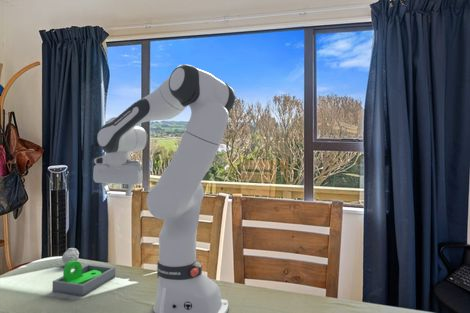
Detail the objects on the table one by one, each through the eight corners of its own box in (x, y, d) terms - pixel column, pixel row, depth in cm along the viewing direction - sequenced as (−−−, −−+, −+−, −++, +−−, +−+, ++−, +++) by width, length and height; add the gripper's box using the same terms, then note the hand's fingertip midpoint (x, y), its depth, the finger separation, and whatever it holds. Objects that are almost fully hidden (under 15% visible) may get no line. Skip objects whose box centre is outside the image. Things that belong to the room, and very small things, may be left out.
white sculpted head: (82, 263, 140) (82, 246, 140) (71, 269, 134) (71, 251, 133) (69, 262, 141) (69, 245, 141) (57, 268, 135) (57, 250, 134)
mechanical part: (74, 290, 113) (74, 266, 112) (63, 286, 116) (63, 263, 116) (105, 278, 123) (105, 256, 123) (94, 275, 126) (94, 253, 126)
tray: (115, 276, 126) (115, 267, 126) (83, 296, 110) (82, 285, 110) (88, 273, 130) (87, 264, 130) (52, 291, 114) (52, 281, 113)
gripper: (145, 159, 133) (145, 195, 134) (101, 158, 139) (101, 192, 140) (136, 160, 127) (136, 197, 128) (90, 159, 133) (90, 194, 134)
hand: (117, 194), depth 134 cm, fingers open, 8 cm apart
